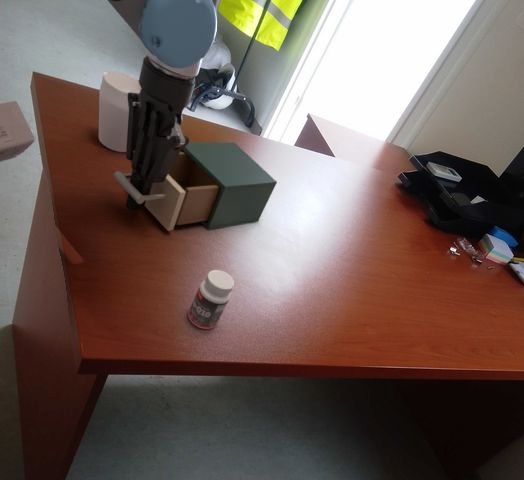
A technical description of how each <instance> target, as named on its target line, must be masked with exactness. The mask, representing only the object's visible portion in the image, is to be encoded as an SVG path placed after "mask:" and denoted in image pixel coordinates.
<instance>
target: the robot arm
mask: <svg viewBox="0 0 524 480" xmlns="http://www.w3.org/2000/svg"><path fill="white" fill-rule="evenodd" d="M221 1H222V0H107V2H108V3H109V4H110V5H111V7H112V8H113V9H114V10H115V11H116V12H117V14H119V16H120V17H121V19H123V21H124V22H125V23H126V24H127V25H128V26H129V28H130V29H131V30H132V31H133V33H134V34H135V35H136V36H137V37H138V38H139V40H140V41H141V43H142V44H143V46H144V47H145V48H144V52H145V54H146V56H144V57H143V60H142V64H141V69H140V73H139V78H138V80H139V84H140V87H141V88H142V89H141V90H140V93H130V92H129V93H128V95H127V97H128V106H129V117H128V132H127V147H126V152H125V158H126V160H127V161H129V162H130V166H131V173H132V174H131V178H129V182H130V183H131V184H132V185H133V186H134V187H135V188H136V189H137V190H138V191H139V192H140V194H141V195H142V196H145V195H150V192H151V188H152V185H153V183H160V182H164V180H165V179H166V177H167V175H168V173H169V171H170V169H171V168H172V166H173V164H174V162H175V160H176V158H177V157H178V155H179V153H180V151H181V149H183V148H184V147H185V146H186V145H188V144H189V142H190V138H189V136H188V135H184V134H183V131H182V127H181V126H182V123H183V111H184V110H185V108H186V107H187V106H188V105H190V102H191V100H192V98H193V97H192V96H193V93H194V90H195V87H196V84H197V81H196V77H197V76H198V75H199V72H200V69H201V66H202V62H203V59H204V58H205V57H206V56H207V53H209V51H210V50H211V49H212V46H213V45H214V41H215V38H216V35H217V31H218V30H217V29H218V28H217V27H218V17H217V13H218V11H219V7H220V3H221ZM145 202H146V201H144V202H143V203H141V204H138V203H137V202H136V201H135V200H134V199H133V197H132V196H131V195H130V194H129V193H128V194H127V198H126V201H125V207H126V208H127V209H128V210H129V211H130V212H133V211H143V210H144V209H145V207H146V206H145Z"/></svg>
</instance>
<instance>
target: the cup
mask: <svg viewBox="0 0 524 480" xmlns="http://www.w3.org/2000/svg"><path fill="white" fill-rule="evenodd" d="M141 89H142V88H141V87H140V84H139V79H138V78H136V77H134V76H132V75H129V74H126V73H123V72H119V71H111V70H110V71H109V70H108V71H105V72H103V74H102V79H101V83H100V88H99V94H98V95H99V96H98V97H99V98H98V99H99V100H98V140H99V142H100V143H101V144H102V145H103V146H105V147H106V148H108V149H109V150H112V151H114V152H118V153H126V147H127V132H128V117H129V106H128V97H127V95H128V93H129V92H130V93H140V90H141Z"/></svg>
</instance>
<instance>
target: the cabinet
mask: <svg viewBox="0 0 524 480" xmlns="http://www.w3.org/2000/svg"><path fill="white" fill-rule="evenodd" d="M180 152H186V153H187V154H188V155H189V156H190V157H191V158H192V159H193V160H194V161H195V162H196V163H197V164H198V165H199V166H200V167H201V168H202V169H203V170H204V171H205V172H206V173H207V174H208V175H209V176H210V177H211V178H212V179H213V180H214V181H215V182H216V183H217V184H218V185H219V186H220V187H221V190H220V192H219V195H218V197H217V200H216V203H215V205H214V208H213V210H212V213H211V215H210V218H209V220H207V221H201V222H200V223H201V225H202V226H203V227H204V228H205V229H206V230H207V231H210V230H216V229H223V228H229V227H233V226H240V225H246V224H251V223H252V224H253V223H257V222H259V221H260V219H261V217H262V214H263V213H264V210H265V208H266V206H267V204H268V202H269V200H270V198H271V196H272V194H273V192H274V189H275V187H276V185H277V183H278V182H277V180H276V179H274V178H273V177H272V175H270V173H268V172H267V171H266V170H265V169H264V168H263V167H262V166H260V165H259V164H258V163H257V161H255V160H254V159H253V158H252V157H251V156H250V155H249V154H248V153H247V152H245V151H244V150H243V149H242V148H241V146H239V145H238V144H237V143H236V142H216V141H215V142H205V141H204V142H200V141H199V142H197V141H196V142H194V141H192V142H191V141H189V144H188V145H186V146H185V147H184V148H183V149H181V151H180Z"/></svg>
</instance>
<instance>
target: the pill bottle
mask: <svg viewBox="0 0 524 480" xmlns="http://www.w3.org/2000/svg"><path fill="white" fill-rule="evenodd" d="M234 287H235V281H234V279H233V278H232V276H231V275H230V274H229V273H227V272H226V271H223V270H219V269H213V270H210V271H209V272H208V273H207V276H206V277H205V279H204V280H202V282H201V283H200V285H199V286H198V288H197V291H196V294H195V296H194V297H193V300H192V303H191V304H190V307H189V309H188V313H187V316H188V319H189V321H190V322H191V323H192V324H193V325H194V326H196V327H197V328H199V329H203V330H208V329H209V330H210V329H213V328H215V327H216V326H217V325H218V322H219V320H220V318H221V316H222V315H223V312H224V310H225V309H226V307H227V305H228V303H229V301H230V299H231V295H232V294H231V293H232V291H233V289H234Z"/></svg>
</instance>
